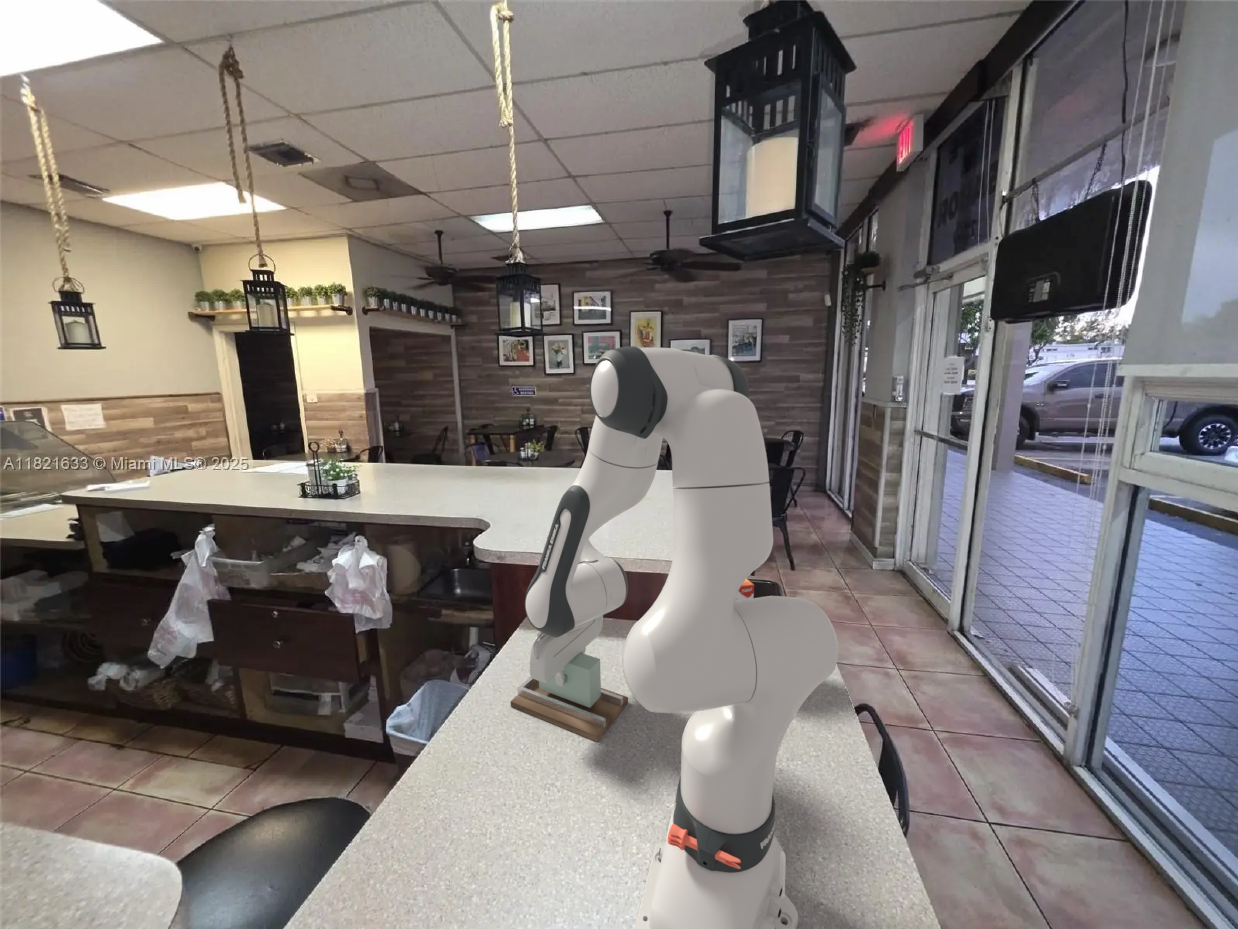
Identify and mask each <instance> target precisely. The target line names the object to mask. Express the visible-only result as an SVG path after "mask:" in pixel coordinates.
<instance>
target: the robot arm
mask: <svg viewBox="0 0 1238 929" xmlns="http://www.w3.org/2000/svg"><path fill="white" fill-rule="evenodd" d="M749 386H750V384H749V381H748V376H747V375H746V372H745V371H744V370H743V368H742V367H741V366H740V364H738V363H736V362H735V361H733V360H731V359H729V358H727V357H724V356H720V355H718V354H704V353H698V352H696V351H695V352H694V351H687V350H682V349H680V348H675V347H641V348H639V347H637V346H634V345H631V346H630V345H629V346H621V347H616V348H612V349H609V350H607V351H606V352H604V353H603V354H602V355H601V356H600V357H599V359H598V360H597V362H596V364H595V365H594V366H593V369H592V372H591V375H590V381H589V398H590V399H589V400H590V404H591V407H592V410H593V412H594V414H595V417H594V421H593V425H592V427H591V428H592V429H591V432H590V435H589V436H590V437H589V441H588V447H587V452H586V456H585V458H584V461H583V463H582V466H581V468H580V470H579V472H578V474H577V476H576V477H575V480H574V481H573V483H572V484H571V485H570V487H568V489H567V490H566V491H565V492H564V493H563V494H562V497H561V498H560V500H559V503H558V505H557V507H556V511H555V514H554V517H553V519H552V523H551V526H550V528H549V532H548V535H547V537H546V538H545V539H544V540H545V541H544V545H543V551H542V555H541V558H540V561H539V564H538V567H537V569H536V571H535V574H534V575H533V578H532V579H531V581H530V583H529V585H528V587H527V590H526V592H525V593H526V594H525V597H524V609H525V614H526V617H527V620H528V621H529V623H530V624H531V626H532V627H533V628H534V629H535V630H537V631H538V632H537V634H536V635H537V636H536V637H535V639H534V640H532V644H531V647H530V654H529V676H530V677H532V678H533V679H535V680H538V681H540V682H543V683H547V682H549V681H550V680H551V679H552V678H553V677H554V676H555V683H556V684H557V685H559V686H563V685H564V684H565V683H566V682H567V675H566V674H563V672H562V671H564V667H565V666H566V665H567V664H568V663H569V662H570V661H571V660H572V659H573V658H575V657H576V656H577V655H578V654H579V653H583V654H586V650H587V649H586V648H587V647H588V646H589V645H590V644H591V643H592V642H593V641H594V640H595V639H596V638H597V637H598V636H600V635H601V633H602V629H603V626H604V624H603V623H604V615H606V614H608V613H610V612H612V611H615V610H616V609H618V608H620V607H622V606H623V605H624V603H625V602H626V599H627V596H628V594H629V593H628V592H629V583H628V577H627V573H626V571H625V569H624V567H623V566H622V565H621V564H620V563H619V562H618V561H616V560H615V559H613V558H611V557H608V556H605V554H603V553H601V552H600V551H599V550H598V549H597V548H596V547H595V546H594V545H593V544H592V543H591V541H590V539H591V536H592V535H593V534H594V533H595V532H596V531H597V530H599V529H600V528H602V526H604V525H605V524H606V523H608V522H610V521H611V520H613V519H614V518H616V517H618V516H619V515H621V514H622V513H624V512H626V511H629V510H630V509H632V508H634V507H635V506H636V505H638V504H639V503H640V502H642V500H643V499H645V497H646V495H647V494H648V492H649V490H650V488H651V486H652V484H653V482H654V480H655V477H656V473H657V469H658V464H659V460H660V455H661V450H662V445H663V440H665V441H666V442H667V444H668V445H669V449H670V454H671V462H672V464H671V467H672V468H671V471H672V472H671V474H672V476H671V477H672V478H671V479H672V487H673V488H672V491H673V492H672V493H673V511H674V512H673V513H674V514H673V515H674V542H673V543H674V545H673V546H674V547H673V557H672V560H671V566H670V569H669V572H668V576H667V578H666V580H665V583H664V585H663V587H662V589H661V591H660V593H659V594H658V596H657V597H656V600H655V601H654V602H653V603H652V605H651V607H650V608H649V609H648V610H647V611H646V612H645V613H644V614H643V615H642V617H641V618H639V620H637V621H636V622H635V623H634V624H633V626H632V627H631V629H630V630H629V632H628V633H627V636H626V639H625V641H624V645H623V647H622V655H621V656H622V660H621V661H622V662H621V664H622V665H621V666H622V671H623V677H624V680H625V683H626V685H627V687H628V689H629V691H630V693H631V694H632V696H633V697H634V698H635V700H636V701H637V702H638V703H639V704H640V706H642V707H643V708H644V709H645V710H647V711H648V712H650V713H657V714H661V713H662V714H691V716H690V718H689V719H688V721H687V723H686V724H685V727H684V729H683V733H682V736H681V756H680V758H681V760H680V777H679V779H678V783H677V788H676V792H675V797H674V798H675V799H674V802H673V803H672V804H671V805H670V813H671V815H670V820H669V824H668V827H667V833H666V837H665V841H661V842H659V843H657V844H656V845H655V847H654V849H653V853H652V856H651V862H650V865H649V869H648V874H647V877H646V881H645V882H646V883H645V886H644V890H643V893H642V896H641V897H642V899H641V901H640V906H639V909H638V910H639V911H638V914H637V918H636V921H635V925H634V929H797V927H798V925H799V914H798V910H797V908H796V906H795V905H794V904H793V902H792V900H791V899H790V898H789V897H788V896H787V894H786V859H787V858H786V853H785V852H784V850H783V849H784V848H783V847H782V846H781V843H780V842H779V840H778V838H777V837H776V834H775V829H776V821H777V811H776V802H775V796H774V794H773V792H774V783H775V781H774V780H775V773H776V764H777V758H778V753H779V750H780V747H781V744H782V742H783V739H784V737H785V735H786V734H787V731H788V730H789V728H790V725H791V723H792V722H793V720H794V718H795V717H796V715H797V713H798V711H799V710H800V708H801V706H803V705H804V702H805V701H806V700H807V699H808V697H809V696H810V695H811V694H812V693H813V691H815V689H816V688H817V687H818V686H820V685H821V684H822V683H823V682H824V681H825V680H826V679H827V678H829V677H830V676H832V674H833V673H834V672H835V670H836V666H837V663H838V660H839V658H838V657H839V641H838V636H837V632H836V630H835V627H834V625H833V623H832V622H831V620H830V618H829V617H828V615H827V613H825V611H824V610H823V609H822V608H821V607H820V606H818V604H816V603H815V602H814V601H812V600H810V599H808V598H803V597H802V598H801V597H792V596H779V595H769V596H768V595H767V596H759V597H754V598H753V599H746V600H739V601H735V599H736V596H737V593H738V591H739V589H740V587H741V585H742V583H743V582H744V580H745V579H746V578H747V579H748V577H749V576H750V575H751V574H752V573H753V572H755V571H756V570H758V568H760V567H761V566H762V565H763V564H765V563H766V561H767V560H768V558H769V557H770V555H771V552H772V550H773V546H774V533H773V532H774V530H773V529H774V528H773V518H772V517H773V516H772V501H771V500H772V499H771V486H770V476H769V475H770V473H769V465H768V456H767V451H766V446H765V439H764V435H763V431H762V426H761V423H760V422H761V421H760V419H759V416H758V415H759V414H758V412H757V409H756V407H755V404H754V403H753V402H752V401H751V400H750V397H749V396H750V387H749Z"/></svg>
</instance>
